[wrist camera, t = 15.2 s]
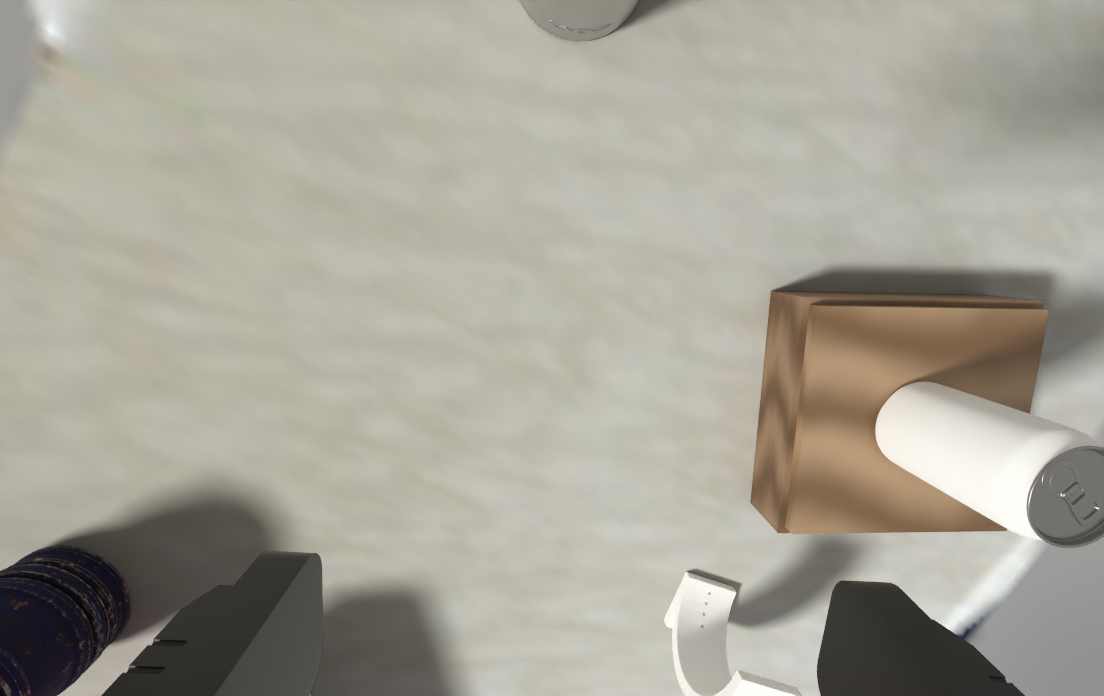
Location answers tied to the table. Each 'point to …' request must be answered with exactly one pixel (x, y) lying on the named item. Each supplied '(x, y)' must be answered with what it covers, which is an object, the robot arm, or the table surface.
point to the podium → (876, 401)
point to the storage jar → (57, 618)
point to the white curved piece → (710, 643)
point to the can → (998, 461)
